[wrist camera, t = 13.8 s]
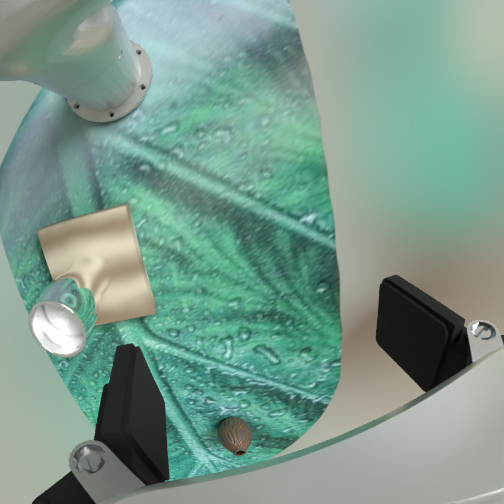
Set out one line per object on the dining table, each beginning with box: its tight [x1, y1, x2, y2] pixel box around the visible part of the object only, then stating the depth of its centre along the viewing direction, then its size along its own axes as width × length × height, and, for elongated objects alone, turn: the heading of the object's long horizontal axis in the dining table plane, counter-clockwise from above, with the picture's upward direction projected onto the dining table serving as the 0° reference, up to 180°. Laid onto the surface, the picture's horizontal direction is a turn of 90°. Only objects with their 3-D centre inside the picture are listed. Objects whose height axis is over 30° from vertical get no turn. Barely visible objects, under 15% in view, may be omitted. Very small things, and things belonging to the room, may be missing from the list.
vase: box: [218, 417, 252, 456], centre depth 53 cm, size 7×7×9 cm
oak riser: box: [37, 203, 156, 326], centre depth 39 cm, size 16×14×3 cm
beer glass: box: [29, 252, 111, 357], centre depth 30 cm, size 7×7×15 cm
